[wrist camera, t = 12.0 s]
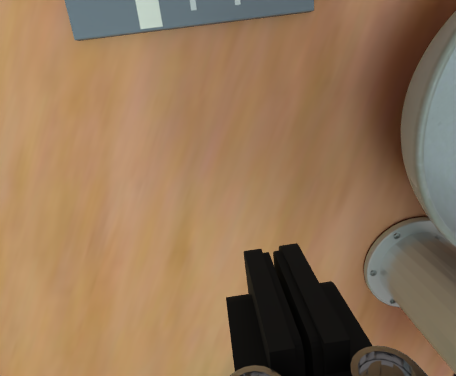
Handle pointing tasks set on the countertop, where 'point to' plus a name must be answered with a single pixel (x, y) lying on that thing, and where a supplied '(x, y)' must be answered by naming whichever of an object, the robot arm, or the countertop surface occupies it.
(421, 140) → the decorative bowl
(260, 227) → the countertop surface
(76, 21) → the board
